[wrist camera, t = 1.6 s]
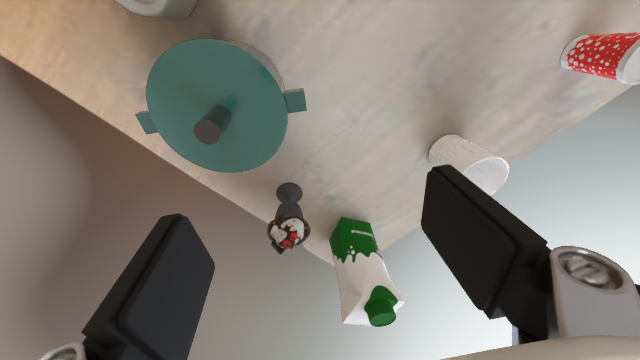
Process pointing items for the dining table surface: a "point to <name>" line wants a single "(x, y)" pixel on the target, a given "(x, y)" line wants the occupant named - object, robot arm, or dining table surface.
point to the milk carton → (362, 276)
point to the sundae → (288, 220)
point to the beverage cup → (605, 56)
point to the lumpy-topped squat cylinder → (160, 8)
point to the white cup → (470, 162)
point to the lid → (216, 105)
